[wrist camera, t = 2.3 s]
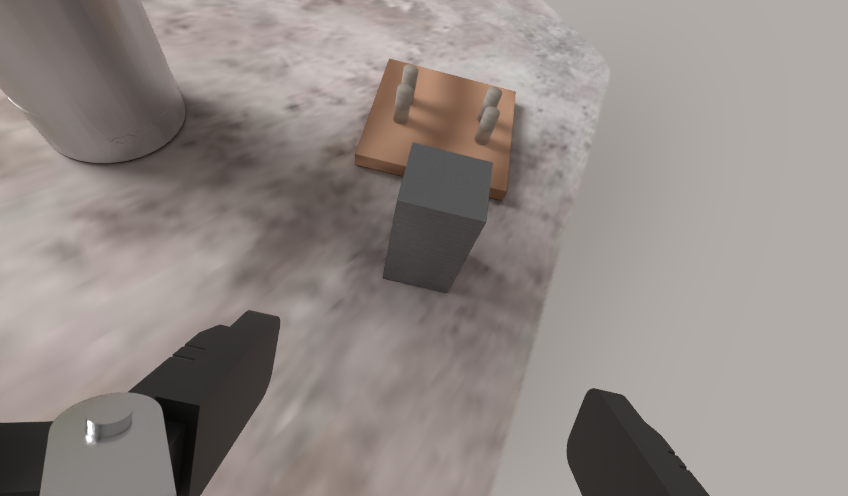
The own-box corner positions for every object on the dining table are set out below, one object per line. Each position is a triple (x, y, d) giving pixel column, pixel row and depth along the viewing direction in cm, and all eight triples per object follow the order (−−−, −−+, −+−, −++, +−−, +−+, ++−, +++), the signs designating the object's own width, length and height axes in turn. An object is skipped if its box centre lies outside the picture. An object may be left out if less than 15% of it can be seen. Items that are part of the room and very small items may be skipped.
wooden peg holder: (354, 164, 32) (355, 124, 28) (388, 69, 38) (392, 27, 34) (501, 200, 32) (521, 165, 29) (511, 102, 39) (528, 63, 35)
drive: (382, 278, 27) (397, 200, 20) (395, 228, 30) (412, 140, 22) (446, 293, 28) (486, 222, 20) (454, 243, 30) (493, 161, 22)
